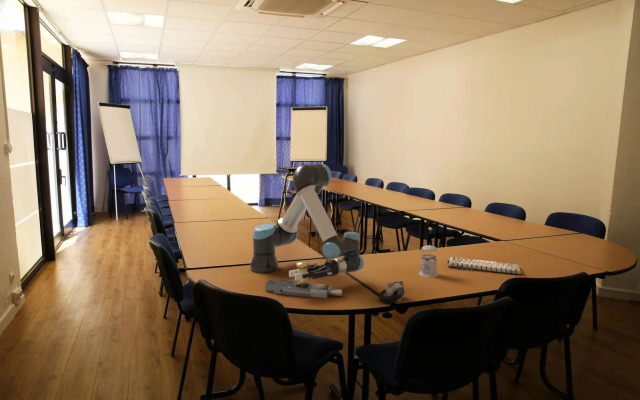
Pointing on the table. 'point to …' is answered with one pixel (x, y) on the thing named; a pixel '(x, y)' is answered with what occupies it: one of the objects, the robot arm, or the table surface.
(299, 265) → the clevis pin
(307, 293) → the clevis
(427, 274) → the french press
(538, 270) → the table surface
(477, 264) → the mechanical keyboard
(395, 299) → the caster wheel
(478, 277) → the table surface
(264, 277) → the table surface
